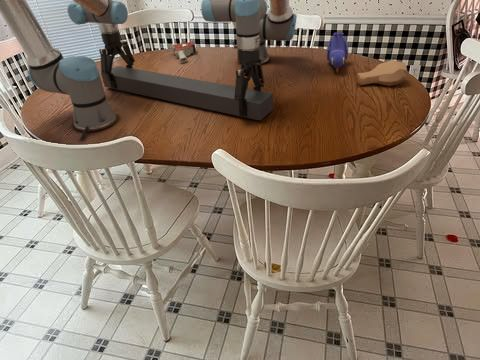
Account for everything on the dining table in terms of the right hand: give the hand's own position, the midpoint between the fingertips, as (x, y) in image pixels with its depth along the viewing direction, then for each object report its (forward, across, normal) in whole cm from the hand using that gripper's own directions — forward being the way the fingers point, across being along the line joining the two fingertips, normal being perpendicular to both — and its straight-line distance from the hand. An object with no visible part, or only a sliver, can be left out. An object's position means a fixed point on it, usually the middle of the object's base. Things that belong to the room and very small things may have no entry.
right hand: (250, 109), depth 131 cm
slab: (+1, 0, +33) cm, 33 cm away
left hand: (0, 0, +66) cm, 66 cm away
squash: (+2, +48, -36) cm, 60 cm away
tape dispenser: (+2, +46, +68) cm, 83 cm away
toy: (+2, +60, -13) cm, 61 cm away
